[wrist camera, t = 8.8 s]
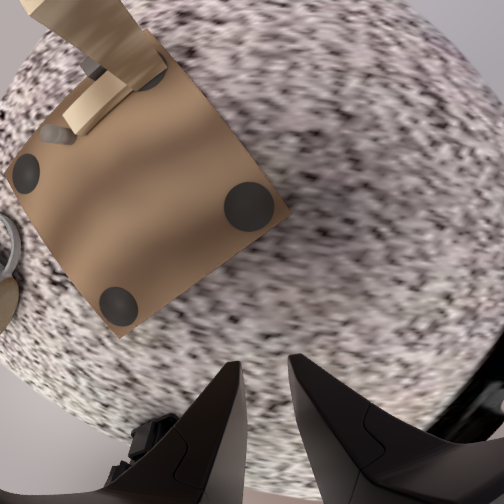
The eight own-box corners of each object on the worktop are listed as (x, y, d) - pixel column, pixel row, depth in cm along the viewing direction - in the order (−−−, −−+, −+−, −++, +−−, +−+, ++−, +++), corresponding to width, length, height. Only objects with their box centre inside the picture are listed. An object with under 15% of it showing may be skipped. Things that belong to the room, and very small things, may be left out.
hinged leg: (85, 139, 17) (-49, 121, 5) (68, 114, 16) (-58, 83, 5) (167, 67, 16) (91, -38, 5) (147, 44, 16) (68, -58, 4)
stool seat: (289, 211, 20) (302, 221, 16) (124, 331, 22) (104, 361, 18) (151, 34, 17) (133, 8, 12) (12, 172, 19) (-21, 175, 14)
